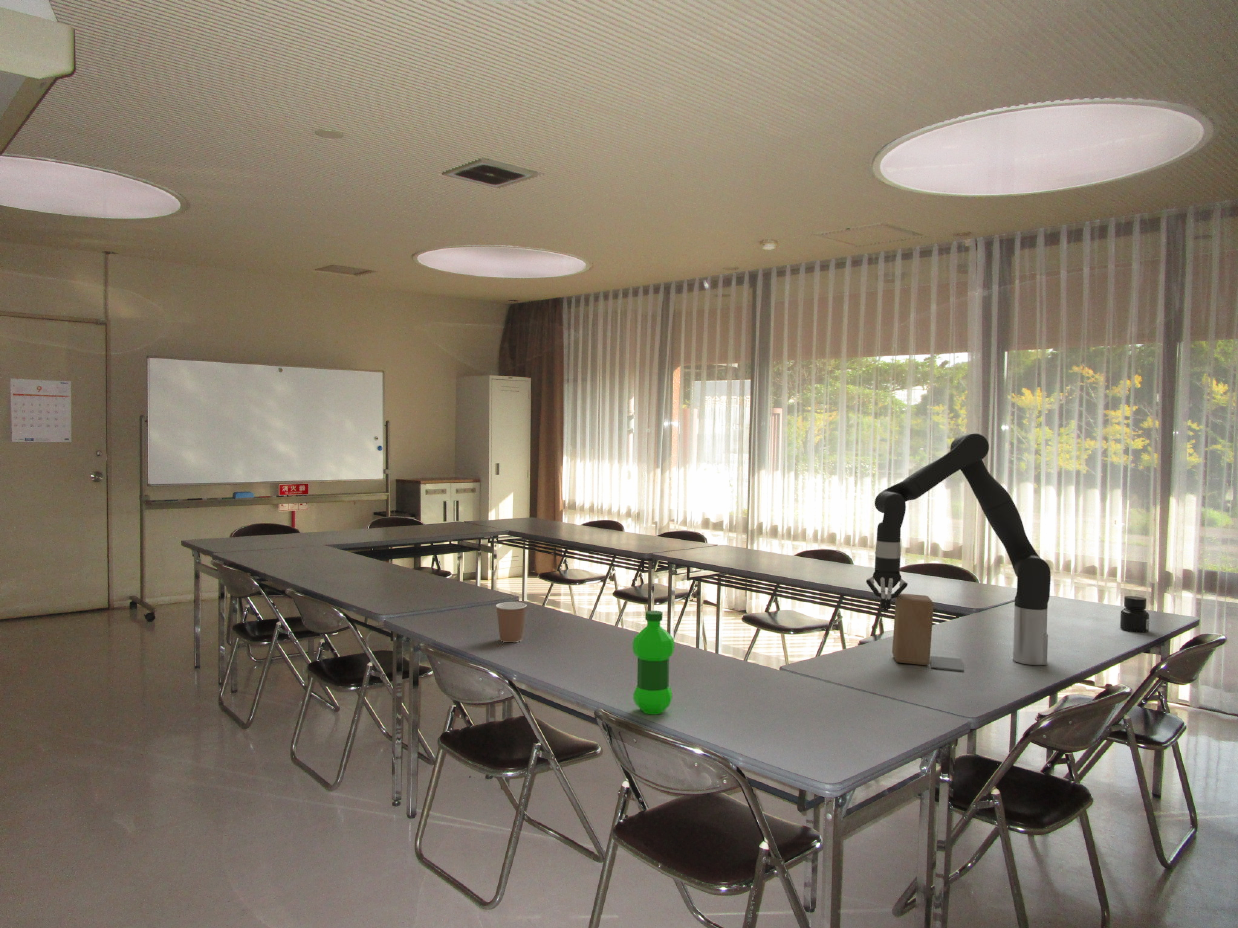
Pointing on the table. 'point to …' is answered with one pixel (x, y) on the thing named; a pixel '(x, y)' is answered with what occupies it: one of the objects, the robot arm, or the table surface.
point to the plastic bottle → (653, 665)
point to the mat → (946, 663)
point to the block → (912, 629)
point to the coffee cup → (511, 620)
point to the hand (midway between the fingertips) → (885, 610)
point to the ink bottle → (1134, 615)
